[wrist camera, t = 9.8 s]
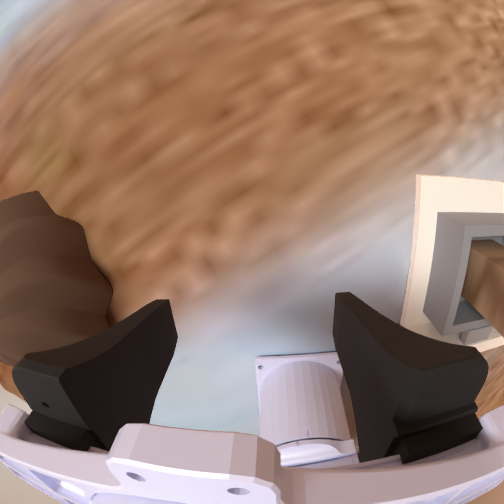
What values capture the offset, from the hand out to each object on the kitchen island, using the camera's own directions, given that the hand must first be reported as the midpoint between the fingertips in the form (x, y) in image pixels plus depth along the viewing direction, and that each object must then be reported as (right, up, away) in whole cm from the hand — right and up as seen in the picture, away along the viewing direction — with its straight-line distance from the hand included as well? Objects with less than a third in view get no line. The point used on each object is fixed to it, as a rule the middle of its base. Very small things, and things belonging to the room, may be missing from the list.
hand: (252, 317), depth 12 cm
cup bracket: (+19, +2, +8) cm, 20 cm away
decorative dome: (-22, -1, +12) cm, 25 cm away
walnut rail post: (+18, +2, +7) cm, 20 cm away
